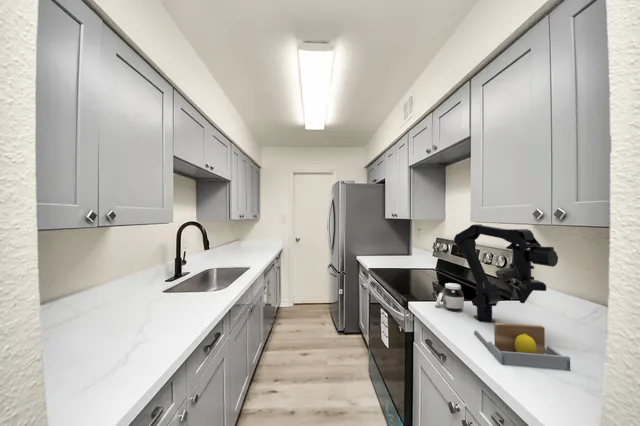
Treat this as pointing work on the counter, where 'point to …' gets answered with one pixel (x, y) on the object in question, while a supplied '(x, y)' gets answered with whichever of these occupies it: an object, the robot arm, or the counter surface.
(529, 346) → the lemon
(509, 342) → the board
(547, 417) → the counter surface
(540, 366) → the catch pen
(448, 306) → the spread jar
